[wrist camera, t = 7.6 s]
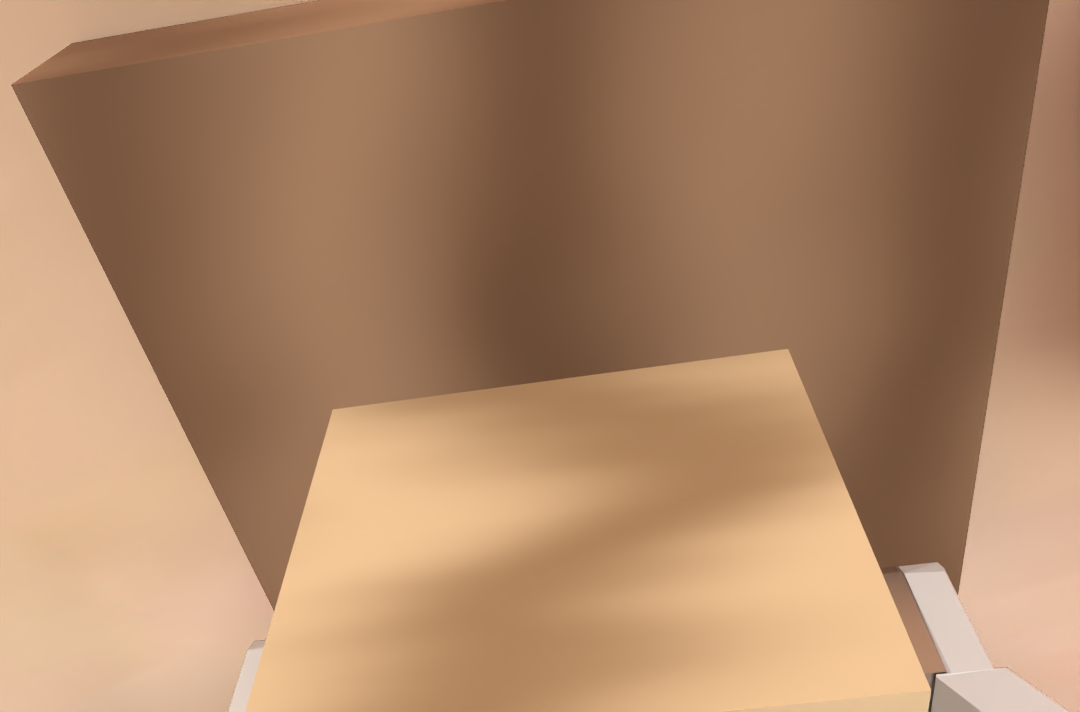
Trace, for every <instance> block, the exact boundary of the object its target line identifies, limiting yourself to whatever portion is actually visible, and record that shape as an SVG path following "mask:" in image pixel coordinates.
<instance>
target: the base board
mask: <svg viewBox="0 0 1080 712" xmlns="http://www.w3.org/2000/svg"><path fill="white" fill-rule="evenodd" d="M1048 5H1049V0H318V1H313V2H307V3H301V4H295V5H290V6H284V7H278V8H272V9H267V10H261V11H255V12H249V13H244V14H238V15H232V16H226V17H221V18H215V19H209V20H203V21H198V22H192V23H186V24H180V25H175V26H169V27H163V28H157V29H152V30H146V31H140V32H134V33H129V34H123V35H117V36H111V37H106V38H100V39H94V40H88V41H83V42H77V43H72V44H70V45H69V46H67V47H66V48H65V49H63V50H62V51H60V52H59V53H57V54H56V55H54V56H53V57H51V58H50V59H48V60H47V61H46V62H44V63H43V64H41V65H40V66H38V67H37V68H35V69H34V70H32V71H31V72H29V73H28V74H27V75H25V76H24V77H22V78H21V79H19V80H18V81H16V82H15V83H13V84H12V87H13V89H14V91H15V93H16V95H17V97H18V99H19V101H20V103H21V105H22V107H23V109H24V111H25V113H26V115H27V117H28V119H29V121H30V123H31V125H32V127H33V129H34V131H35V133H36V135H37V137H38V139H39V141H40V143H41V145H42V147H43V149H44V151H45V153H46V155H47V157H48V159H49V161H50V163H51V165H52V167H53V169H54V171H55V173H56V175H57V177H58V179H59V181H60V183H61V185H62V187H63V189H64V191H65V193H66V195H67V197H68V199H69V201H70V203H71V205H72V207H73V209H74V211H75V213H76V215H77V217H78V219H79V221H80V223H81V225H82V227H83V229H84V231H85V233H86V235H87V237H88V239H89V241H90V243H91V245H92V247H93V249H94V251H95V253H96V255H97V257H98V259H99V261H100V263H101V265H102V267H103V269H104V271H105V273H106V275H107V277H108V279H109V281H110V283H111V285H112V287H113V289H114V291H115V293H116V295H117V297H118V299H119V301H120V303H121V305H122V307H123V309H124V311H125V313H126V315H127V317H128V319H129V321H130V323H131V325H132V327H133V329H134V331H135V333H136V335H137V337H138V339H139V341H140V343H141V345H142V347H143V349H144V351H145V353H146V355H147V357H148V359H149V361H150V363H151V365H152V367H153V369H154V371H155V373H156V375H157V377H158V379H159V381H160V383H161V385H162V387H163V389H164V391H165V393H166V395H167V397H168V399H169V401H170V403H171V405H172V407H173V409H174V411H175V413H176V415H177V417H178V419H179V421H180V423H181V425H182V428H183V430H184V432H185V434H186V436H187V438H188V440H189V442H190V444H191V446H192V448H193V450H194V452H195V454H196V456H197V458H198V460H199V462H200V464H201V466H202V468H203V470H204V472H205V474H206V476H207V478H208V480H209V482H210V484H211V486H212V488H213V490H214V492H215V494H216V496H217V498H218V500H219V502H220V504H221V506H222V508H223V510H224V512H225V514H226V516H227V518H228V520H229V522H230V524H231V526H232V528H233V530H234V532H235V534H236V536H237V538H238V540H239V542H240V544H241V546H242V548H243V550H244V552H245V554H246V556H247V558H248V560H249V562H250V564H251V566H252V568H253V570H254V572H255V574H256V576H257V578H258V580H259V582H260V584H261V586H262V588H263V590H264V592H265V594H266V596H267V598H268V600H269V602H270V604H271V606H272V608H273V610H274V611H275V607H276V604H277V600H278V597H279V593H280V590H281V586H282V583H283V580H284V576H285V573H286V569H287V566H288V562H289V559H290V555H291V552H292V548H293V545H294V542H295V538H296V535H297V531H298V528H299V524H300V521H301V517H302V514H303V511H304V507H305V504H306V500H307V497H308V493H309V490H310V486H311V483H312V479H313V476H314V473H315V469H316V466H317V462H318V459H319V455H320V452H321V448H322V445H323V441H324V438H325V435H326V431H327V428H328V424H329V421H330V417H331V414H332V410H333V409H341V408H348V407H356V406H363V405H371V404H378V403H386V402H393V401H401V400H408V399H416V398H423V397H431V396H438V395H446V394H453V393H461V392H468V391H476V390H483V389H491V388H498V387H506V386H513V385H521V384H528V383H536V382H543V381H551V380H558V379H566V378H573V377H581V376H588V375H596V374H603V373H611V372H618V371H626V370H633V369H641V368H648V367H656V366H663V365H671V364H678V363H686V362H693V361H701V360H708V359H716V358H723V357H731V356H738V355H746V354H753V353H761V352H768V351H776V350H783V349H788V350H789V353H790V355H791V357H792V360H793V362H794V364H795V367H796V369H797V372H798V374H799V376H800V379H801V381H802V384H803V386H804V388H805V391H806V393H807V395H808V398H809V400H810V403H811V405H812V407H813V410H814V412H815V414H816V417H817V419H818V422H819V424H820V426H821V429H822V431H823V434H824V436H825V438H826V441H827V443H828V445H829V448H830V450H831V453H832V455H833V457H834V460H835V462H836V465H837V467H838V469H839V472H840V474H841V476H842V479H843V481H844V484H845V486H846V488H847V491H848V493H849V496H850V498H851V500H852V503H853V505H854V507H855V510H856V512H857V515H858V517H859V519H860V522H861V524H862V526H863V529H864V531H865V534H866V536H867V538H868V541H869V543H870V546H871V548H872V550H873V553H874V555H875V557H876V560H877V562H878V565H879V567H880V568H884V567H892V566H894V567H899V566H907V565H916V564H924V563H933V562H938V563H939V564H940V565H941V566H942V567H943V568H944V569H945V571H946V573H947V575H948V577H949V579H950V581H951V583H952V585H953V587H954V589H955V591H956V593H957V595H958V591H959V585H960V578H961V572H962V565H963V558H964V552H965V545H966V539H967V532H968V526H969V519H970V513H971V506H972V500H973V493H974V487H975V480H976V474H977V467H978V461H979V454H980V448H981V441H982V435H983V428H984V422H985V415H986V409H987V402H988V396H989V389H990V383H991V376H992V369H993V363H994V356H995V350H996V343H997V337H998V330H999V324H1000V317H1001V311H1002V304H1003V298H1004V291H1005V285H1006V278H1007V272H1008V265H1009V259H1010V252H1011V246H1012V239H1013V233H1014V226H1015V220H1016V213H1017V207H1018V200H1019V194H1020V187H1021V181H1022V174H1023V167H1024V161H1025V154H1026V148H1027V141H1028V135H1029V128H1030V122H1031V115H1032V109H1033V102H1034V96H1035V89H1036V83H1037V76H1038V70H1039V63H1040V57H1041V50H1042V44H1043V37H1044V31H1045V24H1046V18H1047V11H1048Z"/></svg>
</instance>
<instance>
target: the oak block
mask: <svg viewBox="0 0 1080 712" xmlns="http://www.w3.org/2000/svg"><path fill="white" fill-rule="evenodd" d="M930 695H931V689H930V686H929V684H928V681H927V679H926V677H925V674H924V672H923V669H922V667H921V665H920V662H919V660H918V658H917V655H916V653H915V650H914V648H913V646H912V643H911V641H910V638H909V636H908V634H907V631H906V629H905V627H904V624H903V622H902V619H901V617H900V615H899V612H898V610H897V608H896V605H895V603H894V600H893V598H892V596H891V593H890V591H889V588H888V586H887V584H886V581H885V579H884V577H883V574H882V572H881V569H880V567H879V565H878V562H877V560H876V557H875V555H874V553H873V550H872V548H871V546H870V543H869V541H868V538H867V536H866V534H865V531H864V529H863V526H862V524H861V522H860V519H859V517H858V515H857V512H856V510H855V507H854V505H853V503H852V500H851V498H850V496H849V493H848V491H847V488H846V486H845V484H844V481H843V479H842V476H841V474H840V472H839V469H838V467H837V465H836V462H835V460H834V457H833V455H832V453H831V450H830V448H829V445H828V443H827V441H826V438H825V436H824V434H823V431H822V429H821V426H820V424H819V422H818V419H817V417H816V414H815V412H814V410H813V407H812V405H811V403H810V400H809V398H808V395H807V393H806V391H805V388H804V386H803V384H802V381H801V379H800V376H799V374H798V372H797V369H796V367H795V364H794V362H793V360H792V357H791V355H790V353H789V350H788V349H783V350H776V351H768V352H761V353H753V354H746V355H738V356H731V357H723V358H716V359H708V360H701V361H693V362H686V363H678V364H671V365H663V366H656V367H648V368H641V369H633V370H626V371H618V372H611V373H603V374H596V375H588V376H581V377H573V378H566V379H558V380H551V381H543V382H536V383H528V384H521V385H513V386H506V387H498V388H491V389H483V390H476V391H468V392H461V393H453V394H446V395H438V396H431V397H423V398H416V399H408V400H401V401H393V402H386V403H378V404H371V405H363V406H356V407H348V408H341V409H333V410H332V414H331V417H330V421H329V424H328V428H327V431H326V435H325V438H324V441H323V445H322V448H321V452H320V455H319V459H318V462H317V466H316V469H315V473H314V476H313V479H312V483H311V486H310V490H309V493H308V497H307V500H306V504H305V507H304V511H303V514H302V517H301V521H300V524H299V528H298V531H297V535H296V538H295V542H294V545H293V548H292V552H291V555H290V559H289V562H288V566H287V569H286V573H285V576H284V580H283V583H282V586H281V590H280V593H279V597H278V600H277V604H276V607H275V611H274V614H273V618H272V621H271V624H270V628H269V631H268V635H267V638H266V642H265V645H264V649H263V652H262V656H261V659H260V662H259V666H258V669H257V673H256V676H255V680H254V683H253V687H252V690H251V693H250V697H249V700H248V704H247V707H246V711H245V712H928V709H929V702H930Z"/></svg>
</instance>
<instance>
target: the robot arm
mask: <svg viewBox="0 0 1080 712" xmlns="http://www.w3.org/2000/svg"><path fill="white" fill-rule="evenodd" d="M880 569H881V572H882V574H883V577H884V579H885V581H886V584H887V586H888V588H889V591H890V593H891V596H892V598H893V600H894V603H895V605H896V608H897V610H898V612H899V615H900V617H901V619H902V622H903V624H904V627H905V629H906V631H907V634H908V636H909V638H910V641H911V643H912V646H913V648H914V650H915V653H916V655H917V658H918V660H919V662H920V665H921V667H922V669H923V672H924V674H925V677H926V679H927V681H928V684H929V686H930V689H931V695H930V702H929V709H928V712H1069V711H1068V710H1066V709H1065V708H1064V707H1062V706H1061V705H1059V704H1058V703H1056V702H1055V701H1054V700H1052V699H1051V698H1049V697H1048V696H1047V695H1045V694H1044V693H1042V692H1041V691H1039V690H1038V689H1037V688H1035V687H1034V686H1032V685H1031V684H1030V683H1028V682H1027V681H1025V680H1024V679H1023V678H1021V677H1020V676H1018V675H1017V674H1015V673H1014V672H1013V671H1011V670H1010V669H1008V668H1007V667H1005V668H994V666H993V664H992V662H991V660H990V658H989V656H988V654H987V652H986V650H985V648H984V646H983V644H982V642H981V640H980V638H979V636H978V635H977V633H976V631H975V629H974V627H973V625H972V623H971V621H970V619H969V617H968V615H967V613H966V611H965V609H964V607H963V605H962V603H961V601H960V599H959V597H958V595H957V593H956V591H955V589H954V587H953V585H952V583H951V581H950V579H949V577H948V575H947V573H946V571H945V569H944V568H943V567H942V566H941V565H940V564H939V563H938V562H933V563H924V564H916V565H907V566H899V567H894V566H892V567H884V568H880ZM265 642H266V640H260V641H254V642H253V644H252V645H251V647H250V648H249V649H248V651H247V652H246V655H245V658H244V661H243V664H242V668H241V671H240V674H239V677H238V680H237V684H236V687H235V690H234V693H233V696H232V700H231V703H230V706H229V709H228V712H245V711H246V707H247V704H248V700H249V697H250V693H251V690H252V687H253V683H254V680H255V676H256V673H257V669H258V666H259V662H260V659H261V656H262V652H263V649H264V645H265Z"/></svg>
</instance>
